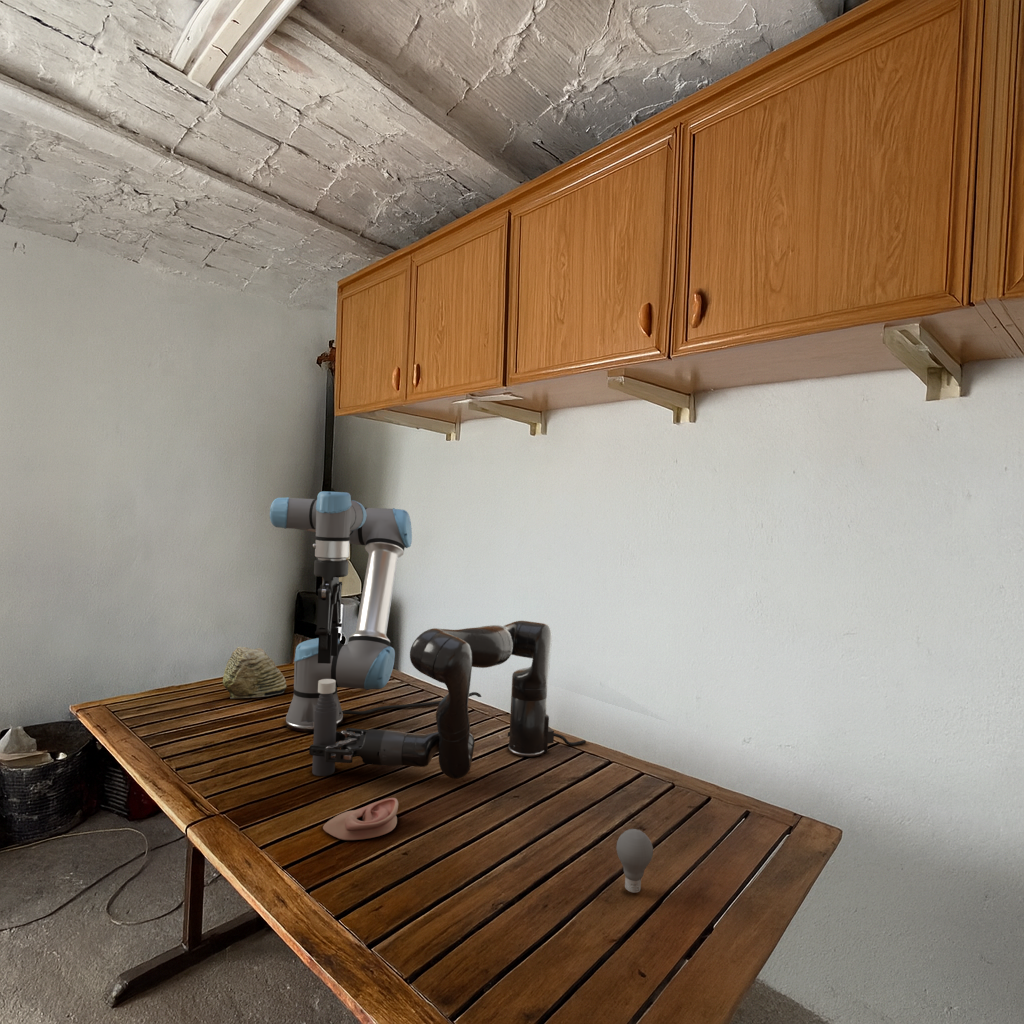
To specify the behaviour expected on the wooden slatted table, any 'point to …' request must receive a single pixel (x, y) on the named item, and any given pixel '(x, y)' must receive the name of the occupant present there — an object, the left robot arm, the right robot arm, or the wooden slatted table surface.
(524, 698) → the right robot arm
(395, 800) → the anatomical model
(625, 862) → the light bulb
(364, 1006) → the wooden slatted table surface
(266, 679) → the fossil
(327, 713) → the bottle
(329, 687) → the cap
